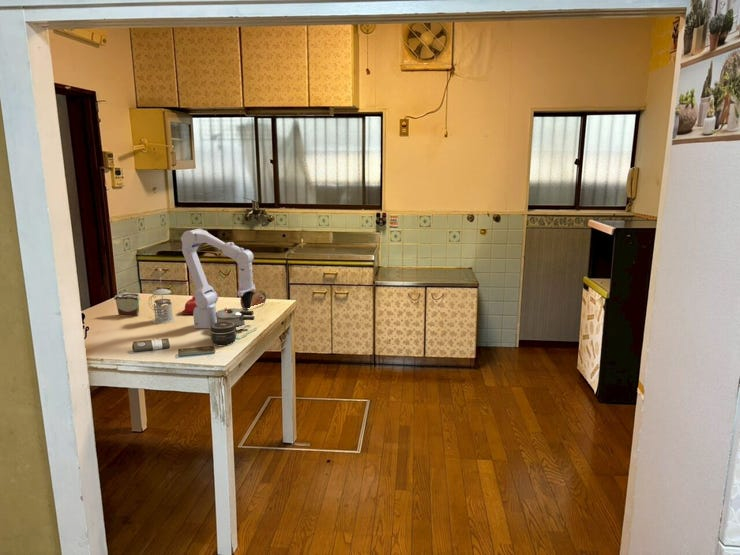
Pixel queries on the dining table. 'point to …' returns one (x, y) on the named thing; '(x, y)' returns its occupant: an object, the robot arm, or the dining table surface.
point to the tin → (256, 298)
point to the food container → (127, 304)
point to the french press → (162, 307)
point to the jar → (223, 333)
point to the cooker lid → (232, 313)
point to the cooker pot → (237, 320)
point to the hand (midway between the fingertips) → (247, 308)
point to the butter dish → (189, 306)
